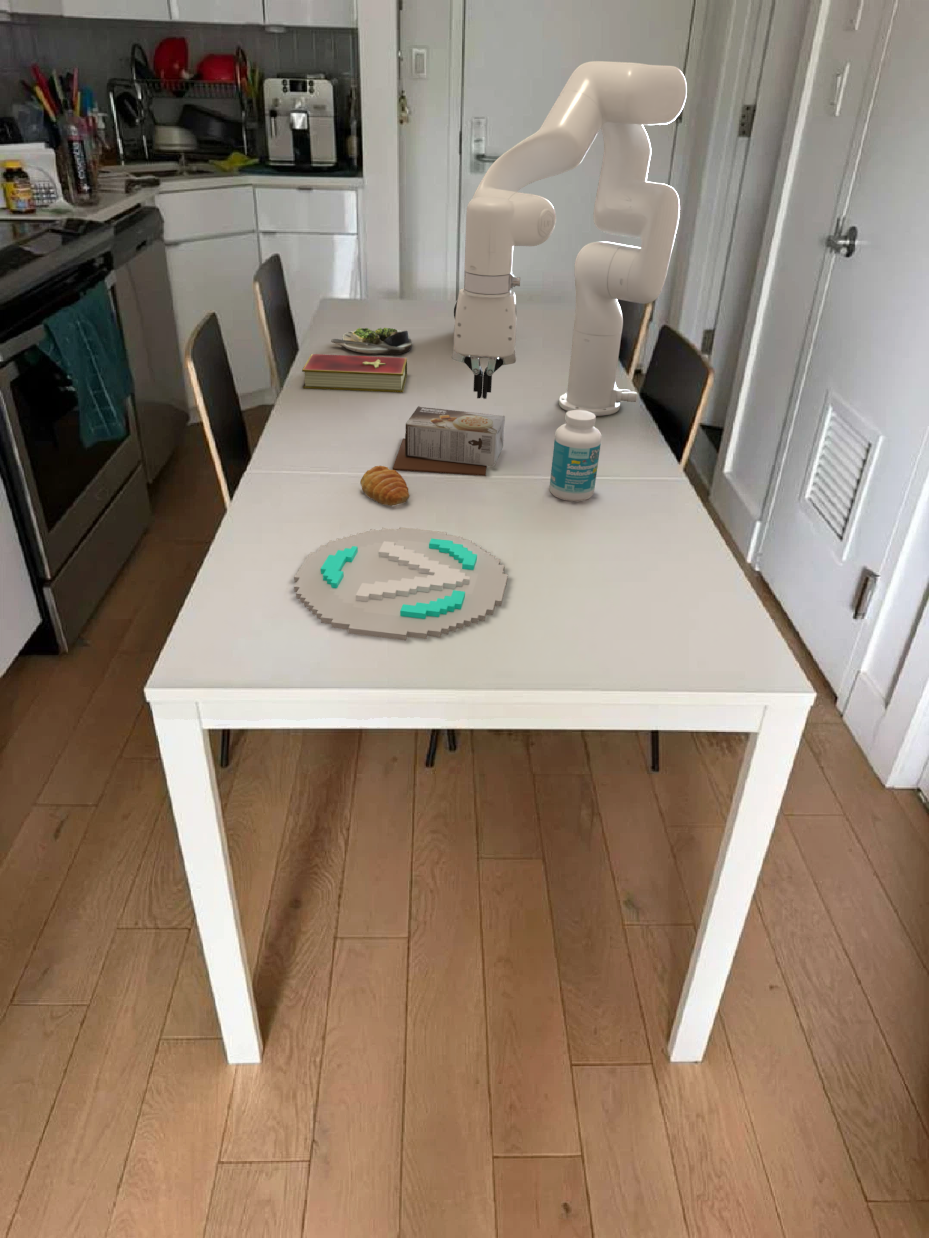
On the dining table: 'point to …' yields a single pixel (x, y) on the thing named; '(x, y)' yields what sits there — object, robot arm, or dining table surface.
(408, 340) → the salad plate
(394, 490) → the pastry
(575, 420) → the pill bottle
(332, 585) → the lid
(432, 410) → the coffee box
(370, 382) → the hardcover book
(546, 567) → the dining table surface
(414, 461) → the mat
